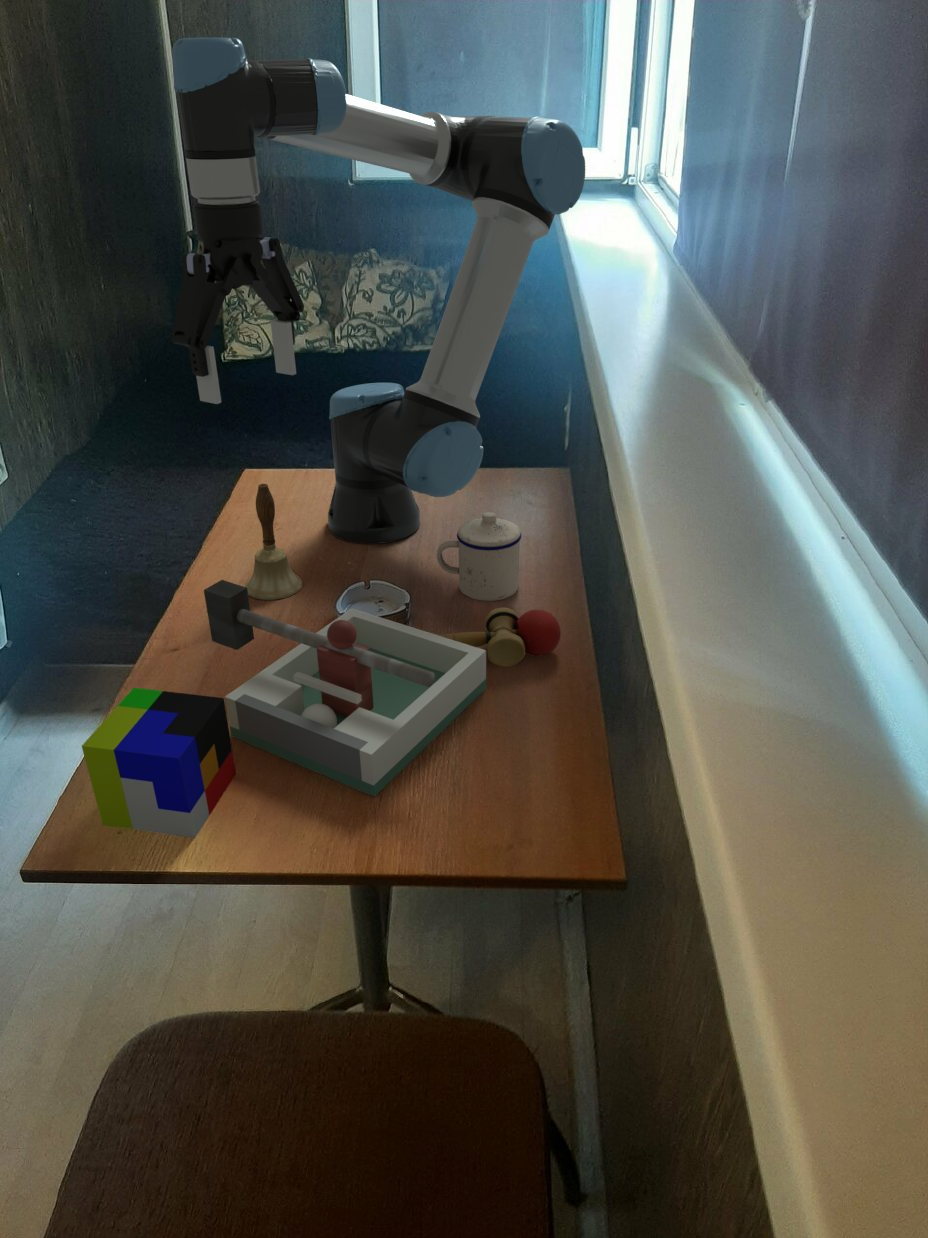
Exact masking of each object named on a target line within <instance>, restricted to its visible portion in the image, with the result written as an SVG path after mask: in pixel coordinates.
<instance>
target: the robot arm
mask: <svg viewBox="0 0 928 1238" xmlns="http://www.w3.org/2000/svg"><path fill="white" fill-rule="evenodd" d="M171 56H172V58H171V59H172V69H173V70H172V72H173V91H174V92H175V94H176V95H175V96H176V102H177V106H178V107H177V108H178V113H179V121H180V126H181V134H182V139H183V146H184V153H185V160H186V167H187V174H188V175H187V176H188V181H189V182H188V183H189V188H190V189H189V191H190V195H191V196H192V197H193V198H195V199H196V200H197V201H195V202H194V204H193V206H192V210H193V217H194V224H195V225H194V226H195V233H196V235H197V237H198V238H199V239H200V240H201V241H202V244H203V246H202V247H203V248H202V253H200V254H199V253H193V252H183V253H182V255H181V266H182V267H181V268H182V269H181V270H182V277H181V281H180V283H181V284H180V288H179V294H178V298H177V304H176V305H177V306H176V310H175V316H174V320H173V327H172V333H171V342H172V343H173V344H174V345H175V344H176V345H181V346H185V347H186V348H187V349H188V355H189V361H190V366H191V373H192V374H193V376H196V377H195V378H196V384H197V390H198V395H199V401H200V402H204V403H210V404H215V405H219V404H221V403H222V395H221V390H220V381H219V376H218V370H217V361H216V354H215V348H214V346H213V345H212V346H211V345H208V344H209V340H210V339H211V336H212V333H213V331H214V328H215V326H216V323H217V320H218V317H219V315H220V312H221V310H222V307H223V305H224V302H225V300H226V299H225V298H226V297H227V296H229V295H230V294H231V293H232V289H233V290H236V289H240V288H241V287H242V286H251V288H252V290H254V292H255V293H256V294H257V295H258V297H259V298H260V299H261V301H262V302H263V304H265V306H266V307H267V308H268V310H269V311H270V312H271V314H272V315H273V316H274V317H275V318H276V319H272V320H270V327H271V339H272V348H273V354H274V355H273V356H274V363H275V364H274V366H275V373H277V374H284V375H290V376H295V375H297V367H296V360H295V359H296V358H295V348H294V346H295V344H296V338H295V337H296V336H295V327H294V325H295V324H294V321H295V322H299V321H300V319H301V313H302V312H303V311H304V310H305V304H304V302H303V300H302V298H301V295H300V293H299V291H298V288H297V286H296V285H295V282H294V280H293V277H292V275H291V273H290V271H289V268H288V266H287V263H286V261H285V259H284V257H283V252H282V246H281V241H280V239H279V238H277V237H270V236H269V237H268V236H262V235H263V234H264V232H265V228H264V227H265V226H264V220H263V209H262V204H261V203H260V201H259V199H256V196H257V197H258V195H260V193H261V188H260V179H259V173H258V165H257V155H256V146H255V138H261V139H266V140H271V141H275V142H277V143H278V142H279V143H283V144H288V145H291V146H295V147H299V148H304V149H308V150H312V151H316V152H318V153H319V152H320V153H323V154H324V153H325V154H328V155H332V156H337V157H340V158H345V159H349V160H352V161H357V162H361V163H364V164H369V165H372V166H377V167H381V168H385V169H389V170H393V171H398V172H402V173H406V174H409V176H410V178H411V180H413V181H414V182H416V183H417V184H418V185H419V184H420V185H423V186H428V187H430V188H434V189H438V190H441V191H442V192H443V191H444V192H446V193H448V194H450V195H451V194H452V195H453V196H458V197H460V198H463V199H465V200H467V201H471V206H472V207H473V209H474V213H475V215H476V219H477V220H476V223H475V225H474V228H473V230H472V233H471V235H470V239H469V242H468V245H467V248H466V251H465V253H464V256H463V258H462V262H461V264H460V267H459V269H458V273H457V276H456V278H455V280H454V281H455V282H454V283H453V287H452V290H451V292H450V295H449V298H448V301H447V303H446V306H445V309H444V312H443V315H442V317H441V320H440V324H439V326H438V330H437V332H436V334H435V337H434V339H433V343H432V345H431V348H430V351H429V354H428V357H427V360H426V362H425V365H424V368H423V371H422V374H421V377H420V379H419V380H418V381H417V382H415V383H413V384H411V385H409V386H407V387H405V389H404V386H402V385H401V384H399V383H394V382H372V383H362V384H356V385H355V384H354V385H351V386H348V387H344V388H341V389H339V390H337V391H336V392H334V393H333V394H332V395H331V397H330V399H329V417H328V419H329V420H330V428H331V429H330V430H331V432H330V433H331V441H332V453H333V464H334V476H335V484H334V487H333V488H334V489H333V493H332V496H331V500H330V504H329V509H328V513H327V522H328V523H327V524H328V530H329V533H331V535H333V536H335V537H336V538H337V539H340V540H342V541H345V542H349V543H356V544H364V545H365V544H366V545H372V544H373V545H374V544H384V543H386V544H387V543H390V542H396V541H398V540H399V541H400V540H402V539H404V538H407V537H409V536H411V535H413V534H414V533H415V532H417V530H418V529H419V528H420V525H421V516H420V515H421V512H420V507H419V506H418V504H417V501H416V499H415V496H414V492H416V493H418V494H424V495H427V496H429V497H433V498H447V497H450V496H452V495H455V494H456V493H457V492H458V491H461V490H463V489H464V488H465V487H466V486H467V485H469V483H470V482H471V481H472V480H473V479H474V478H475V476H476V474H477V472H478V470H479V468H480V466H481V464H482V461H483V457H484V456H483V455H484V446H482V443H483V438H482V435H481V434H480V432H479V430H478V429H477V427H478V423H479V421H480V419H481V415H480V412H479V410H478V407H477V404H476V399H477V397H478V394H479V391H480V388H481V386H482V383H483V380H484V377H485V375H486V372H487V369H488V366H489V364H490V361H491V359H492V356H493V353H494V350H495V348H496V345H497V342H498V339H499V337H500V334H501V331H502V328H503V327H504V326H503V325H504V323H505V320H506V318H507V314H508V312H509V310H510V306H511V303H512V301H513V299H514V296H515V293H516V291H517V287H518V286H519V282H520V280H521V276H522V273H523V271H524V269H525V265H526V263H527V261H528V258H529V255H530V252H531V250H532V247H533V245H534V242H536V241H538V240H539V239H540V238H543V237H544V236H548V234H549V231H550V229H551V227H552V223H553V221H554V218H555V216H556V215H561V214H564V213H566V212H568V211H569V210H570V209H572V208H574V206H576V204H577V203H578V201H579V199H580V198H581V195H582V193H583V189H584V185H585V181H586V180H585V179H586V159H585V156H584V153H583V152H584V151H583V145H582V143H581V140H580V138H579V136H578V135H577V133H576V132H575V130H574V129H573V127H571V126H570V125H569V124H568V123H566V122H564V121H562V120H559V119H555V118H553V119H552V118H547V117H545V116H540V115H539V116H534V117H518V116H517V117H514V116H495V115H479V116H477V115H476V116H468V115H467V116H465V115H463V116H459V115H448V114H443V113H440V112H436V111H433V110H432V111H426V112H424V113H423V114H420V115H419V114H415V113H411V112H407V111H404V110H402V109H399V108H394V107H391V106H389V105H385V104H383V103H378V102H374V101H371V100H368V99H364V98H363V97H362V98H361V97H358V96H354V95H351V94H348V93H347V89H346V84H345V81H344V77H343V76H342V74H341V73H340V71H339V69H338V67H337V66H336V65H335V64H334V63H332V62H330V61H329V60H325V59H314V58H313V59H312V58H311V57H306V58H305V57H304V58H286V59H284V58H282V59H280V58H278V59H257V60H256V59H251V58H247V54H246V52H245V48H244V44H243V42H242V41H241V40H240V39H239V38H238V37H237V38H236V37H186V38H184V37H183V38H180V39H177V40H176V41H175V42H174V43H173V45H172V49H171Z"/></svg>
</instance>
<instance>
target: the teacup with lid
mask: <svg viewBox="0 0 928 1238" xmlns="http://www.w3.org/2000/svg"><path fill="white" fill-rule="evenodd" d="M456 539H457V540H446V541H444V542H443V543H441V544H440V545H439V546H438V548H437V550H436V558H437V562H438V564H439V566H440V567H441V569H443V570H444V571H445V572H446V573H449V574H454V575H458V583H459V584H458V587H459V590H460V591H461V592H462V593H463V594H464V595H465V596H467V597H468V598H471V599H473V600H477V601H483V602H492V601H493V602H495V601H501V600H505V599H508V598H510V597H511V596H514V594H516V592H517V591H518V589H519V586H520V585H519V584H520V583H519V579H520V578H519V574H520V541H521V539H522V532H521V529H520V528H519V526H518V525H517V524H516V523H514V522H512V521H510V520H507V519H503V518H499V517H497V514H496V513H495V512H493V511H486V512H484V513H482V516H481V517H479V518H475V519H471V520H468V521H466V522H464V523H462V525H460V527H458V530H457V533H456ZM449 548H458V567H457V566H451V565H449V564H448V563H446V561H445V560H444V558H443V552H444V551H445V550H447V549H449Z"/></svg>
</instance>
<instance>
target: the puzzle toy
mask: <svg viewBox="0 0 928 1238" xmlns="http://www.w3.org/2000/svg"><path fill="white" fill-rule="evenodd" d="M225 705H226V703H225V697H219V696H208V695H202V694H193V693H192V694H191V693H183V692H175V691H167V690H158V689H157V690H156V689H150V688H141V687H140V688H139V687H133V688H132V689H131V690H130V691H129V692H128V694H126V696H124V698H123V699H122V700H121V701H120V702H119V703H118V704H117V706H116V707H115V708H114V709H113V710H112V711H111V713H109V715H108V716H107V717H106V718H105V719H104V720H103V722H101V724H99V726H98V727H97V728H96V729H95V730H94V732H93V733H92V734H91V735H90V736H89V737H88V738H87V739H86V740H85V742H83V744H81V749H82V752H83V756H84V759H85V764H86V768H87V772H88V775H89V779H90V783H91V787H92V790H93V794H94V797H95V801H96V807H97V810H98V812H99V813H98V814H99V817H100V821H101V825H102V826H109V827H113V828H114V827H115V828H122V829H129V830H136V831H143V832H150V833H156V834H163V835H164V834H165V835H170V836H171V835H173V836H178V837H185V838H191V839H196V837H197V836H198V835H199V833H200V831H201V830H202V828H203V827H204V826H205V823H206V822H207V820H208V819H209V818H210V815H211V814H212V812H213V811H214V809H215V807H216V806H217V804H218V803H219V802H220V800H221V798H222V797H223V795H224V794H225V793H226V791H227V789H228V788H229V786H230V784H231V783H232V781H233V780H234V778H235V776H236V775H237V773H236V772H237V771H236V765H235V758H234V754H233V748H232V742H231V733H230V731H229V729H230V727H229V721H228V715H227V709H226V706H225Z"/></svg>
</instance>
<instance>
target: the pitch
mask: <svg viewBox="0 0 928 1238" xmlns="http://www.w3.org/2000/svg"><path fill="white" fill-rule="evenodd" d="M337 620H346V621H349V622H350V623H352V624H353V626H354V627H355V629H356V633H357V636H356V640H355V642H354V643H355V644H358V645H361V646H364V647H367V648H370V652H373V653H376V654H379V655H382V656H385V657H388V658H391V659H394V660H397V661H400V662H403V663H406V664H409V665H412V666H415V667H418V668H421V669H424V670H427V671H430V672H433V673H434V674H435V679H434V682H433V684H432V685H431V686H430V687H427V686H424V685H421V684H418V683H415V682H412V681H409V680H406V679H404V678H401V677H398V676H395V675H392V674H389V673H386V672H383V671H380V670H377V669H375V668H372V667H371V677H372V692H373V706H374V708H373V709H372V710H370V711H368V710H366V709H363V708H360V707H359V708H358V709H357V710H355V711H354V712H353V713H352V714H351V715H349V716H348V717H345V716H343V715H340V714H337V713H335V712H334V713H335V715H336V718H337V725H336V727H335V728H334V729H333V728H331V727H328V726H325V725H323V724H320V723H318V722H315V721H313V720H310V719H307V718H305V717H302V716H301V715H302V713H303V711H304V710H305V709H306V708H307V707H309V706H311V705H313V704H322V696H321V691H322V692H325V693H328V694H330V695H333V696H336V697H339V698H341V699H344V700H347V701H349V702H352V703H355V704H358V703H360V702H361V701H362V697H361V694H358V693H356V692H353V691H350V690H347V689H345V688H342V687H339V686H336V685H333V684H331V683H328V682H325V681H322V680H320V677H319V667H318V657H317V649H316V648H314V647H311V646H308V645H305V644H302V643H299V644H298V645H297V646H296V647H294V648H293V649H291V650H289V651H288V652H287V653H285V654H284V655H283V656H281V657H280V658H278V659H277V660H276V661H274V662H273V663H271V664H269V665H268V666H267V667H266V668H264V669H262V670H261V671H260V672H258V673H257V674H256V675H254V676H253V677H251V678H250V679H248V680H247V681H245V682H244V683H243V684H241V685H240V686H238V687H237V688H236V689H234V690H232V691H231V692H229V693H227V694H226V695H225V696H224V701H225V705H226V706H225V707H226V714H227V720H228V726H229V729H230V731H229V732H230V738H234V739H237V740H239V741H240V742H241V741H242V742H243V743H246V744H247V745H250V746H253V747H256V748H257V749H260V750H262V751H264V752H267V753H269V754H272V755H275V756H277V757H279V758H281V759H283V760H286V761H288V762H291V763H294V764H296V765H299V766H300V767H303V768H305V769H307V770H310V771H312V772H314V771H315V772H314V773H316V774H319V775H321V776H325V777H327V778H329V779H332V780H334V781H336V782H338V783H340V784H343V785H345V786H348V787H350V788H353V789H355V790H357V791H360V792H362V793H364V794H367V795H369V796H372V797H376V796H377V795H378V794H379V793H380V792H381V791H382V790H383V789H384V788H385V787H386V786H387V785H388V784H389V783H390V782H391V781H392V780H393V779H394V778H396V777H397V776H398V775H399V774H400V772H402V771H403V770H404V769H405V768H406V767H407V766H408V765H409V764H410V763H411V762H412V761H413V760H414V759H415V758H416V757H417V756H418V755H419V754H420V753H422V752H423V750H424V749H425V748H427V747H428V745H430V743H432V742H433V741H434V740H435V739H436V738H437V737H438V736H439V735H440V734H441V733H442V732H443V731H444V730H445V729H446V728H447V727H448V726H449V725H450V724H451V723H452V722H453V721H455V720H456V719H457V717H458V716H460V715H461V713H463V712H464V711H465V709H467V708H468V707H469V706H470V705H471V704H472V703H473V702H474V701H475V700H476V699H477V698H478V697H479V696H480V695H481V694H482V693H483V692H484V691H486V690H487V649H486V650H485V649H483V648H480V647H473V646H470V645H467V644H464V643H461V642H457V641H454V640H451V639H448V638H445V637H441V636H438V635H439V634H435V633H433V632H428V631H425V630H422V629H418V628H415V627H413V626H409V625H406V624H404V623H400V622H396V621H393V620H390V619H386V618H384V617H380V616H377V615H374V614H371V613H368V612H365V611H362V610H358V609H355V608H350V609H348V610H347V611H345V612H343V614H341V615H340V616H338V617H337V618H335V619H334V620H333V621H331V622H330V623H328V624H327V625H325V626H324V627H322V628H321V629H320V630H318V631H317V632H316V633H317V634H320V635H323V636H326V637H327V631H328V628H329V627H330V625H331V624H332V623H333V622H335V621H337Z"/></svg>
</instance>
